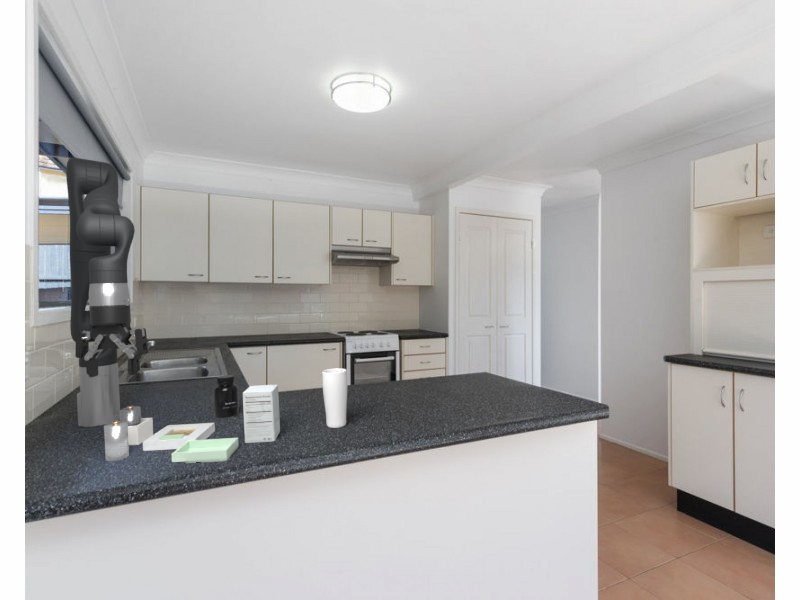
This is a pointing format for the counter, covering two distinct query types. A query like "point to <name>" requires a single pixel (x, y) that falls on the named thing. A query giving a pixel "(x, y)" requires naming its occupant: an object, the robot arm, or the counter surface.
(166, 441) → the frame
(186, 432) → the contact plate
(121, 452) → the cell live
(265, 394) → the supplement box
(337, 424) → the drinking glass
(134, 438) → the white open box sleeve
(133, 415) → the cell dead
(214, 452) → the trough
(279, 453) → the counter surface
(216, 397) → the supplement bottle
